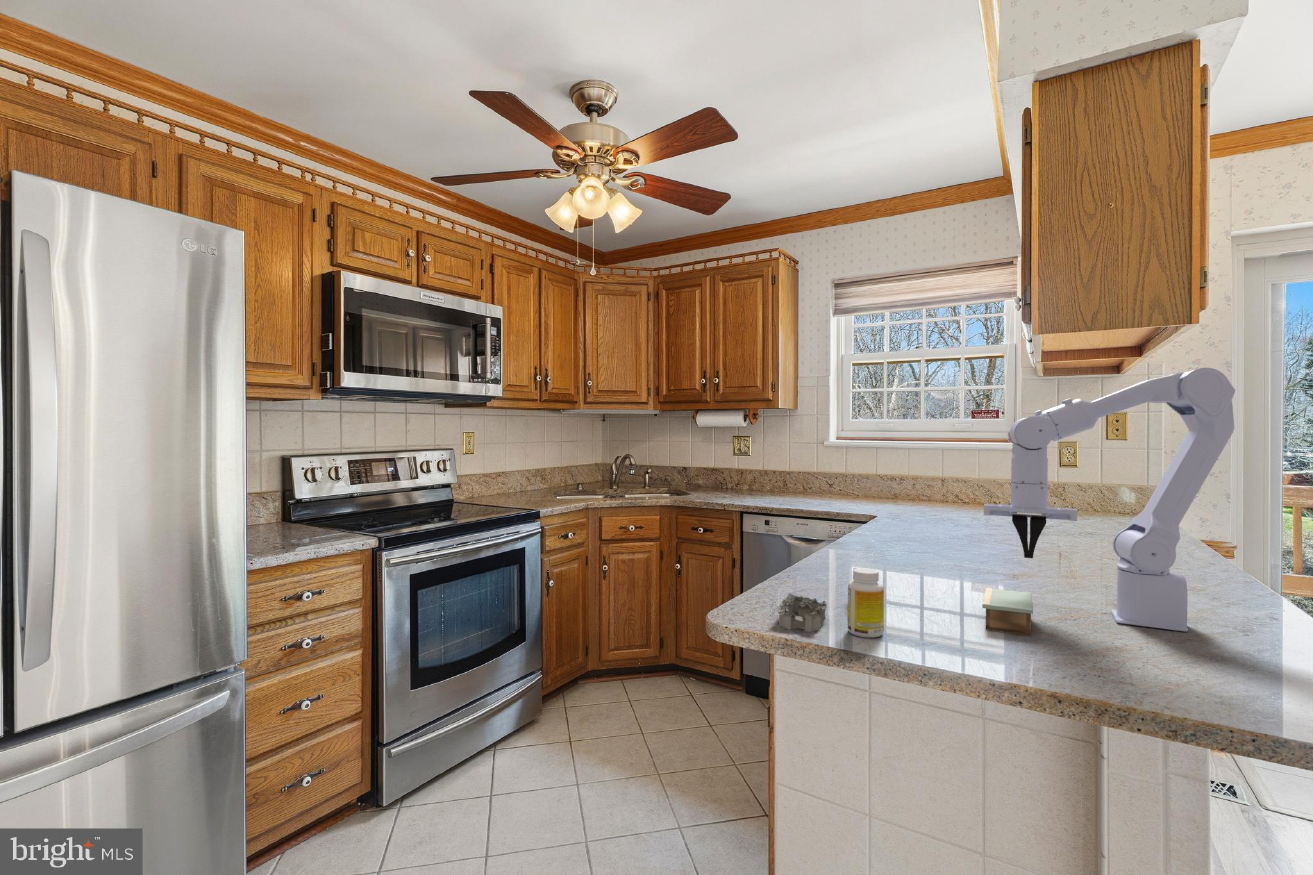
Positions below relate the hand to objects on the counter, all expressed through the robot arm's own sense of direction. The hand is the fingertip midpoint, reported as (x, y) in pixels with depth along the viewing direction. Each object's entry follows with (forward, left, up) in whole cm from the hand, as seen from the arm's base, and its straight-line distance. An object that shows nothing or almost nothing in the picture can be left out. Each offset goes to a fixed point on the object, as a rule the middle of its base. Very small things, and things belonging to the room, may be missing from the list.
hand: (1028, 557), depth 113 cm
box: (+3, +10, -10) cm, 14 cm away
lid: (+3, +10, -6) cm, 12 cm away
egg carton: (+34, +27, -10) cm, 45 cm away
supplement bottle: (+23, +28, -10) cm, 38 cm away
